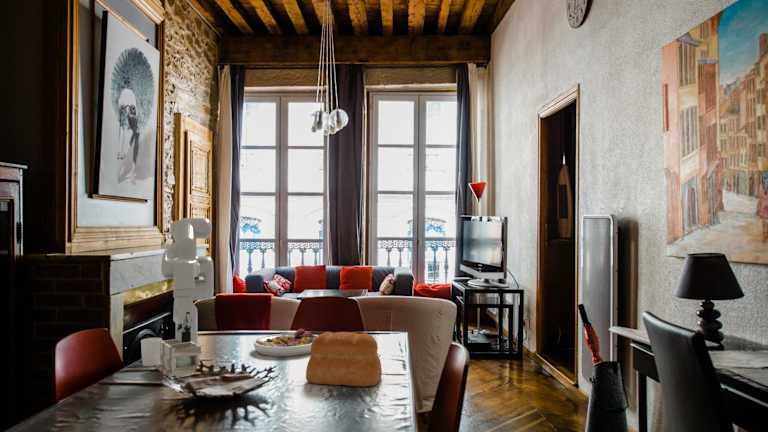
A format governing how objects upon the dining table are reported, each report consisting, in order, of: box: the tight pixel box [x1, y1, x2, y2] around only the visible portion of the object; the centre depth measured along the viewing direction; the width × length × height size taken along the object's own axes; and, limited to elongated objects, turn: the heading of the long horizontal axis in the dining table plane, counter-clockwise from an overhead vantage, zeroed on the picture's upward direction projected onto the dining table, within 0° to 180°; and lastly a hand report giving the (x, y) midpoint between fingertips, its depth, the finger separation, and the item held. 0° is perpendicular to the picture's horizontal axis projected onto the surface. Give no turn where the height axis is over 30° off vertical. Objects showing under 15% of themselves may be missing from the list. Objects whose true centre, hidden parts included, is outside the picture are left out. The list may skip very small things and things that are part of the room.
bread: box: [305, 331, 383, 388], centre depth 185 cm, size 16×26×17 cm, turn 78°
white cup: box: [140, 337, 163, 367], centre depth 210 cm, size 8×8×10 cm
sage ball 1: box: [175, 328, 192, 343], centre depth 195 cm, size 6×6×6 cm
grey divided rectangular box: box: [155, 338, 202, 377], centre depth 199 cm, size 21×12×10 cm, turn 38°
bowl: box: [253, 328, 319, 358], centre depth 233 cm, size 30×30×8 cm
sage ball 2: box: [176, 356, 191, 368], centre depth 195 cm, size 6×6×6 cm
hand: (183, 340), depth 195 cm, fingers closed on sage ball 1, 5 cm apart
